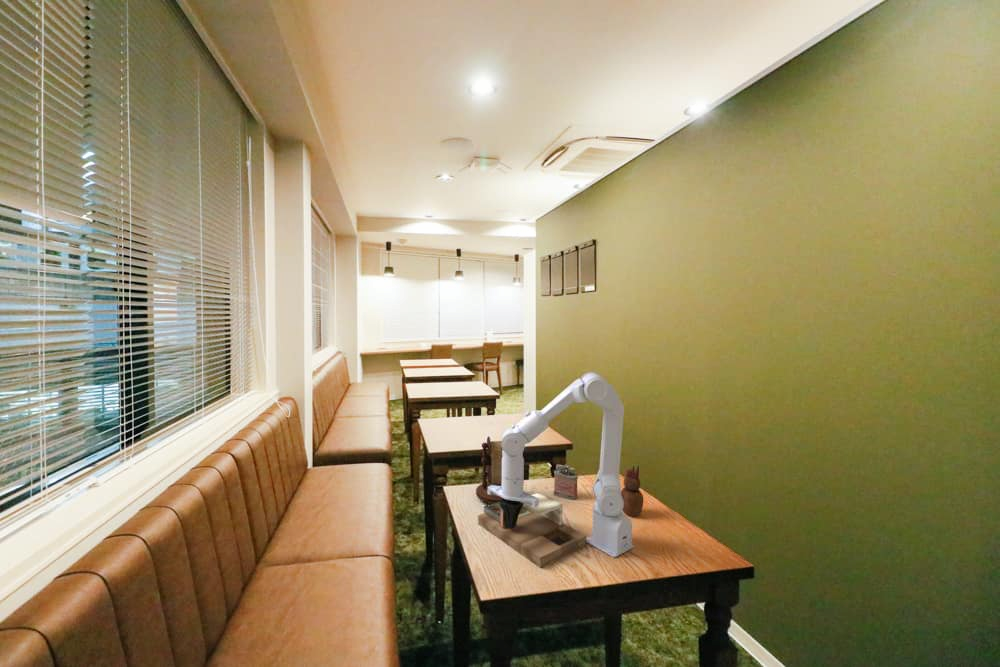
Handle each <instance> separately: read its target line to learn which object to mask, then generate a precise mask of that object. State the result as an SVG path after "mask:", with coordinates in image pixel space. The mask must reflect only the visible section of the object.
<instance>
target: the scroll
mask: <svg viewBox="0 0 1000 667" xmlns="http://www.w3.org/2000/svg"><path fill="white" fill-rule="evenodd" d="M481 448H482V453H481V454H482V455H481V456H482V457H481V465H482V467H481V468H482V469H481V470H482V472H481V479H482V482H481V483H480V484H479V485H477V487H476V489H475V494H476V497H477V498H478V499H479V500H480V501H483V502H485V503H484V504H485V506H487V505H490V504H489V503H491V504H493V503H496V502H499V501H501V500H502V497H500V496H497V495H493V494H491V495H489V494H488V487H489V486H490V485H495V486H502V457H503V456H502V451H503V449H502V440H494V441H491V438H490V436H489V435H488V436H487V438H486V442H483V443H481ZM488 455H489V456H490V457H488ZM488 463H490V464H491V466H490V464H488Z"/></svg>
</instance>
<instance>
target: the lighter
mask: <svg viewBox="0 0 1000 667" xmlns="http://www.w3.org/2000/svg"><path fill="white" fill-rule="evenodd" d="M555 469H557V470H554V471H553V474H554V484H553V485H554V486H553V487H554V489H553V490H554V491H553V495H554V496H555V497H559V498H562V499H565V500H570V501H571V500H572V501H577V500H578V498H579V497H578V478H579V475H578V474H576V473H575V468H574V467H570V465H562V464H558V463H557V464H556V466H555Z"/></svg>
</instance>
